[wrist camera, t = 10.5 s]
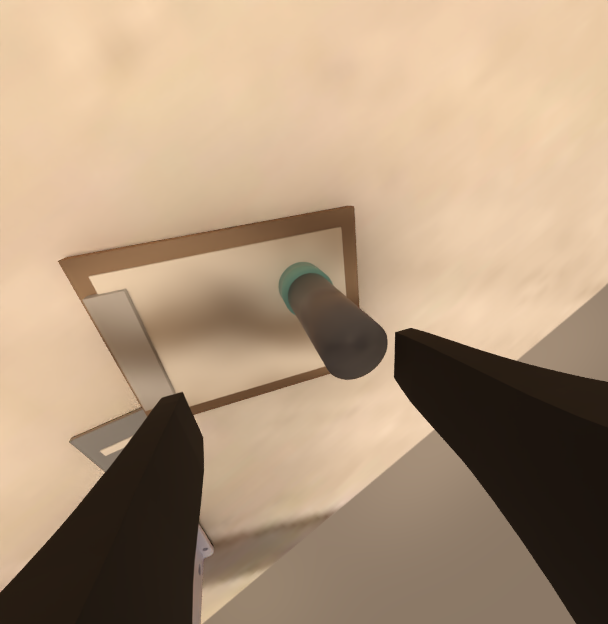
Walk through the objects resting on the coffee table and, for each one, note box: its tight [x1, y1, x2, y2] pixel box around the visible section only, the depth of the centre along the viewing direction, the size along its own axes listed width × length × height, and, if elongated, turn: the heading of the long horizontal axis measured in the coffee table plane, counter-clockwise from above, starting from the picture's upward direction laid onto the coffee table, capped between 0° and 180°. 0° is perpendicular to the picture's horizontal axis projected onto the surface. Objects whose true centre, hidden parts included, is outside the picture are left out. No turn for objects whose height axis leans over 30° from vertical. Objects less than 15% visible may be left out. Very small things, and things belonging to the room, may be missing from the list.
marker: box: [279, 262, 387, 380], centre depth 14 cm, size 3×3×8 cm
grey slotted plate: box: [69, 408, 147, 472], centre depth 19 cm, size 4×6×1 cm, turn 108°
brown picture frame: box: [58, 206, 359, 416], centre depth 17 cm, size 12×16×1 cm
